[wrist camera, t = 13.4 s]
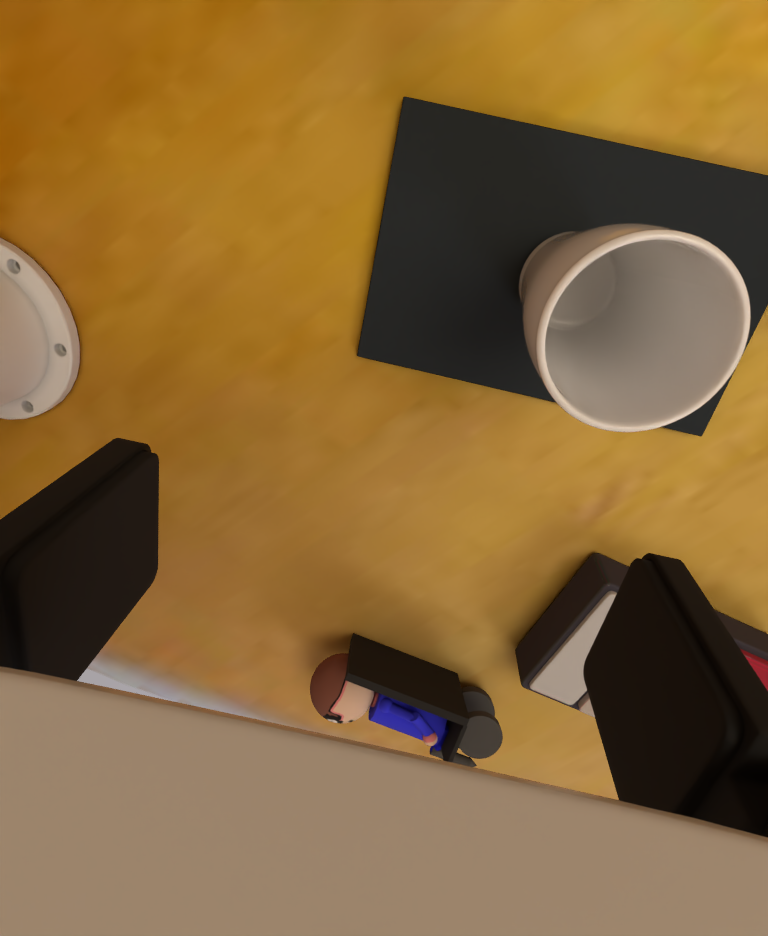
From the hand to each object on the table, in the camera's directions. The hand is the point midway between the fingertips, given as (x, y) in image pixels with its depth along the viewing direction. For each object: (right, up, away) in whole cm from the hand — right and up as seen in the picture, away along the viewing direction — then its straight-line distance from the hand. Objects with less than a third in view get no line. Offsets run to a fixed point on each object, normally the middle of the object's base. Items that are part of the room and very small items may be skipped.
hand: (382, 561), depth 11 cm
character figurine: (+2, -15, +36) cm, 39 cm away
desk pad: (+10, +13, +21) cm, 27 cm away
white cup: (+10, +12, +21) cm, 26 cm away
